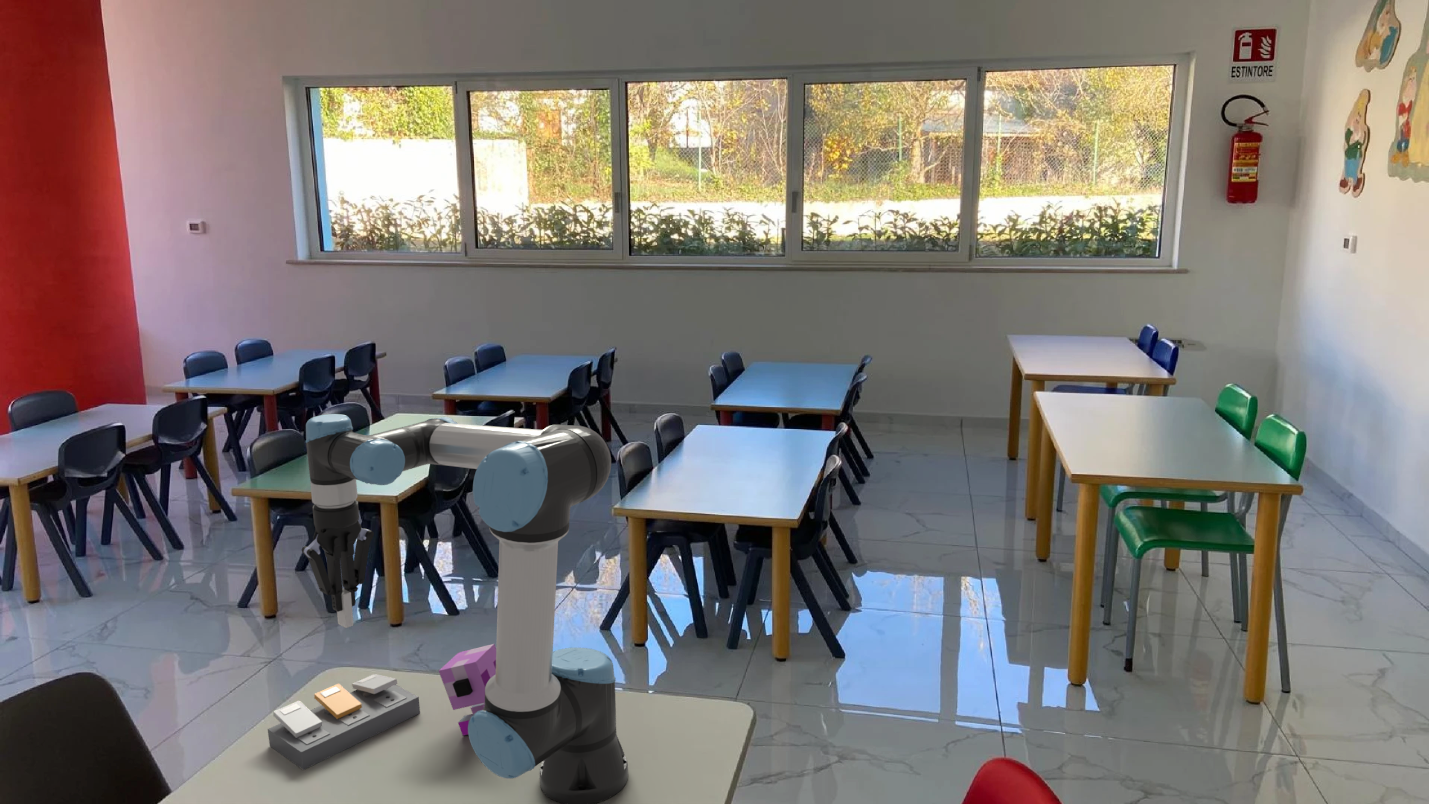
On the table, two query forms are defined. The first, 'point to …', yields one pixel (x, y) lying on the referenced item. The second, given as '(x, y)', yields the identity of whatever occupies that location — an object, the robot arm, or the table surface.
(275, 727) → the power strip
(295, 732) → the rocker
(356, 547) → the robot arm
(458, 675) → the toy
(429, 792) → the table surface
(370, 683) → the rocker
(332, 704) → the plate
